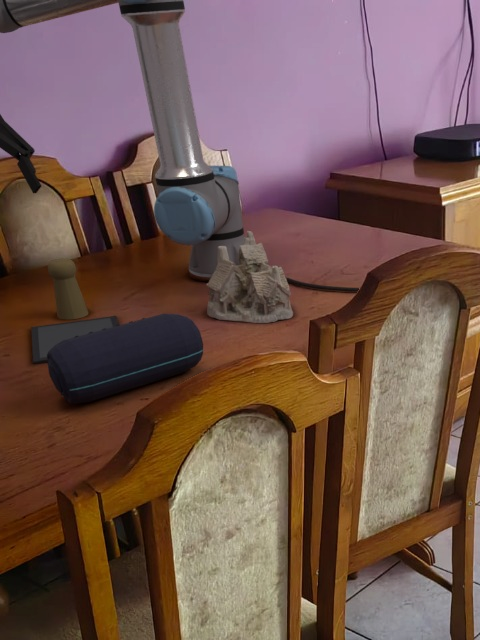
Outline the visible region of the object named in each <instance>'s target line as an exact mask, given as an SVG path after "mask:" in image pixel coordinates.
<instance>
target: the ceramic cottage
mask: <svg viewBox="0 0 480 640" xmlns="http://www.w3.org/2000/svg"><path fill="white" fill-rule="evenodd" d="M239 247H240V248H239V258H238V261H239V263H240V265H237V266H236V265H235V263H233V262H231V261H229V256H228V252H227V248H226V246H219V247H218V265H217V268H216V270H215V272H214V274H212V277H211V279H210V280H209V282H207V283H206V286H207V288H209V291H208V299H209V301H208V302H207V303H206V306H207V308H206V311H207V312H206V315H208V316H209V317H210V318H213V319H216V320H219V321H233V322H244V323H253V324H270V323H274V322H278V321H281V320H282V321H283V320H288V319H289V320H290V319H291V318H292V317H293V316H294V311H293V308H292V306H291V301H290V296H291V295H292V292H291V290H290V289H291V288H290V285H289V282H287V280H286V276H285V272H284V270H283V268H282V266H279V267H278V265H272V266H271V265H269V259H268V255H267V253H266V251H265V248H264V245H263V243H262V242H260V243H257V242H256V240H255V236H254V233H253V231H249V230H247V231H246V236H245V238H244V245H241V246H239Z"/></svg>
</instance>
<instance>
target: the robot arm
mask: <svg viewBox="0 0 480 640" xmlns="http://www.w3.org/2000/svg"><path fill="white" fill-rule="evenodd" d="M114 4H115V5H116V4H118V7H119V12H120V16H121V17H122V18H123V19H124V20H125V21H126V23H128V24H129V25H131V26H130V27H131V28H132V33H133V37H134V42H135V43H134V44H135V47H136V48H135V49H136V52H137V56H138V62H139V66H140V71H141V72H140V73H141V77H142V82H143V86H144V90H145V96H146V100H147V101H146V102H147V106H148V111H149V116H150V120H151V126H152V130H153V135H154V140H155V145H156V150H157V155H158V159H159V168H158V169H157V171H156V172H155V174H154V177H155V178H154V179H155V183H156V188H157V192H158V194H157V197H156V199H155V202H154V207H153V215H154V219H155V221H156V222H155V223H156V224H157V226H158V228H159V230H160V231H161V232H162V233H163V234H164V235H165V236H166V237H167V238H168V239H170V240H171V241H173V242H174V243H176V244H179V245H182V246H191V248H190V254H189V255H190V256H189V261H188V273H189V276H190V278H192V279H193V280H197V281H201V282H207V283H209V280H210V279H211V277H212V274H214V272H215V270H216V268H217V265H218V247H219V246H226V248H227V252H228V256H229V261H231V262H233V263H235V265H236V266H237V265H240V263H239V261H238V258H239V248H240V247H239V246H241V245H244V238H245V237H246V236H245V229H244V222H243V212H242V205H241V204H242V203H241V197H240V188H239V187H240V186H239V184H240V182H239V180H238V174H237V171H236V169H235V168H234V167H233V166H231V165H209V164H208V163H206V162H205V160H204V155H203V150H202V144H201V139H200V133H199V127H198V121H197V117H196V111H195V105H194V99H193V94H192V89H191V83H190V77H189V71H188V66H187V65H188V64H187V60H186V55H185V49H184V43H183V37H182V32H181V26H180V21H181V19H182V17H183V16H184V14H185V13H186V7H185V1H184V0H0V34H8V33H13V32H15V31H16V30H18V29H21V28H24V27H27V26H32V25H35V24H40V23H43V22H47V21H52V20H56V19H59V18H63V17H67V16H71V15H75V14H79V13H82V12H86V11H91V10H95V9H100V8H103V7H106V6H111V5H114ZM0 149H1V150H3V151H4V152H5V153H7V154H8V155H10V156H11V157H13V158H14V159H15V160H17V163H16V165H17V166H18V168H19V170H20V172H21V174H22V176H23V177H24V179H25V181H26V183H27V185H28V187H29V188H30V190H31V192H32V194H37V193H38V192H39V190H40V189H41V188H42V184H41V182H40V180H39V178H38V176H37V175H36V173H37V169H36V168H35V165H34V164H33V162H32V159H31V158H32V156H34V154H35V152H36V150H35V148H34V147H33V146H32V145H31V144H29V142H28V141H27V140H25V138H23V137H22V136H21V135H20V134H19V133H18V131H16V130H15V129H14V128H13V127H12V126H11V125H10V124H9V123H8V122H7V121H6V120H5V119H4V118H3V116H2V115H1V113H0ZM285 277H286V276H285ZM286 280H287V282H288V283H289V284H293V285H296V286H300V287H305V288H311V289H317V290H324V291H333V292H334V291H337V292H356V293H358V292H357V291H358V290H359V288H360V287H346V286H332V285H322V284H315V283H309V282H304V281H299V280H296V279H292V278H290V277H286Z"/></svg>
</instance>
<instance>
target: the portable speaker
mask: <svg viewBox="0 0 480 640" xmlns="http://www.w3.org/2000/svg"><path fill="white" fill-rule="evenodd" d="M203 355H204V342H203V337H202V334H201V331H200V329H199V327H198V326H197V325H196V323H195V322H194V321H193V320H192V319H191V318H189V317H188V316H186V315H182V314H178V313H161V314H157V315H153V316H149V317H142V318H141V319H138V320H135V321H129V322H127V323H123V324H119V325H116V326H115V327H111V328H108V329H106V328H104V329H103V330H100V331H97V332H90V333H88V334H85V335H82V336H75V337H74V338H70V339H67V340H63V341H61V342H60V343H58V344H56V345H55V346H54V347H53V348H52V349H50V350H49V351H48V354H47V359H48V362H47V370H48V375H49V377H50V380H51V381H52V383H53V385H54V388H55V390H57V392H58V393H59V394H60V395H61V396H62V397H63V398H64V399H65V400H66V402H68V403H69V404H76V405H78V404H85V403H90V402H94V401H98V400H101V399H103V398H106V397H109V396H113V395H116V394H119V393H123V392H126V391H129V390H133V389H136V388H138V387H142V386H144V385H145V386H146V385H148V384H151V383H155V382H158V381H161V380H165V379H167V378H170V377H171V378H172V377H174V376H178V375H180V374H183V373H186V372H187V371H189V370H191V369H193V368H195V367H196V366H197V365H198V364H199V362H201V361H202V357H203Z"/></svg>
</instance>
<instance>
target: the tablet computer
mask: <svg viewBox="0 0 480 640" xmlns="http://www.w3.org/2000/svg"><path fill="white" fill-rule="evenodd" d="M116 325H120V324H119V321H118V318H117V316H116V315H111V316H104V317H95V318H90V319H89V318H88V319H81V320H73V321H67V322H59V323H51V324H44V325H38V326H37V325H36V326H31V327H30V329H31V330H30V331H31V347H32V349H31V350H32V362H33V363H32V364H33V365H38V364H44V363H48V359H47V354H48V351H49V350H50V349H52V348H53V347H54V346H55V345H56V344H58V343H60V342H61V341H63V340H67V339H70V338H74V337H75V336H82V335H85V334H88V333H90V332H97V331H100V330H103V329H104V328H106V329H108V328H111V327H115V326H116Z"/></svg>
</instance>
